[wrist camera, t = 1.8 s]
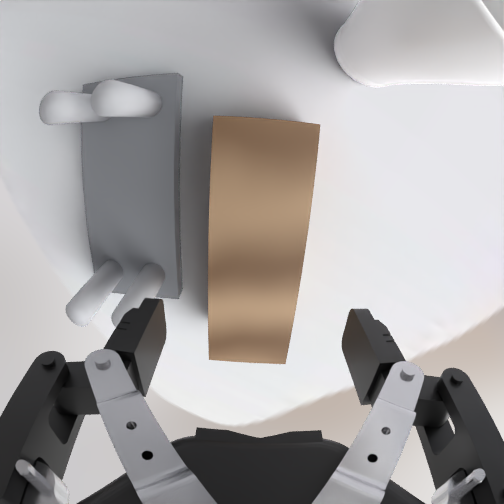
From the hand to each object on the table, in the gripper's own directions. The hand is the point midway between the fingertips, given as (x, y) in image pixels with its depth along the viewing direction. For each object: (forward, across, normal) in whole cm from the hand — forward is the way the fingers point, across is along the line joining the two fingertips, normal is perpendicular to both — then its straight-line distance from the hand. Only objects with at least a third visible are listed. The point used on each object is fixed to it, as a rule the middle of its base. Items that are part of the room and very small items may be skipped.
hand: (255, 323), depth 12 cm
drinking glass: (+10, -7, -14) cm, 19 cm away
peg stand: (+10, +9, -4) cm, 14 cm away
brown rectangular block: (+10, 0, 0) cm, 11 cm away
